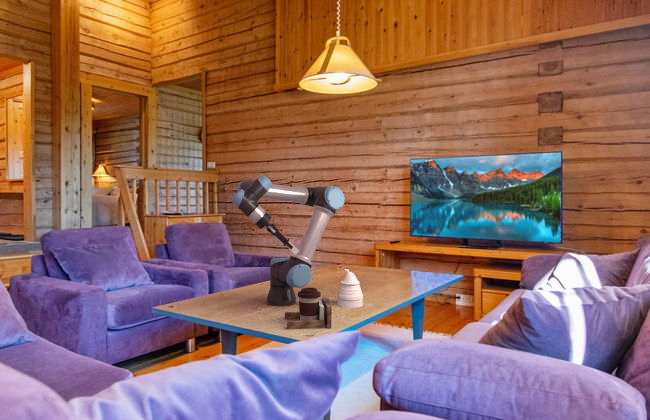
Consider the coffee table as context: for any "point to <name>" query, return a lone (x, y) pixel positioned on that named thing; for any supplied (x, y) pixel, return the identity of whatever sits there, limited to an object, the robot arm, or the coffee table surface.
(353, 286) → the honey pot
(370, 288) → the coffee table surface
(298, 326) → the dock
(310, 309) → the coffee cup
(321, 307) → the catch plate
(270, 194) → the robot arm
